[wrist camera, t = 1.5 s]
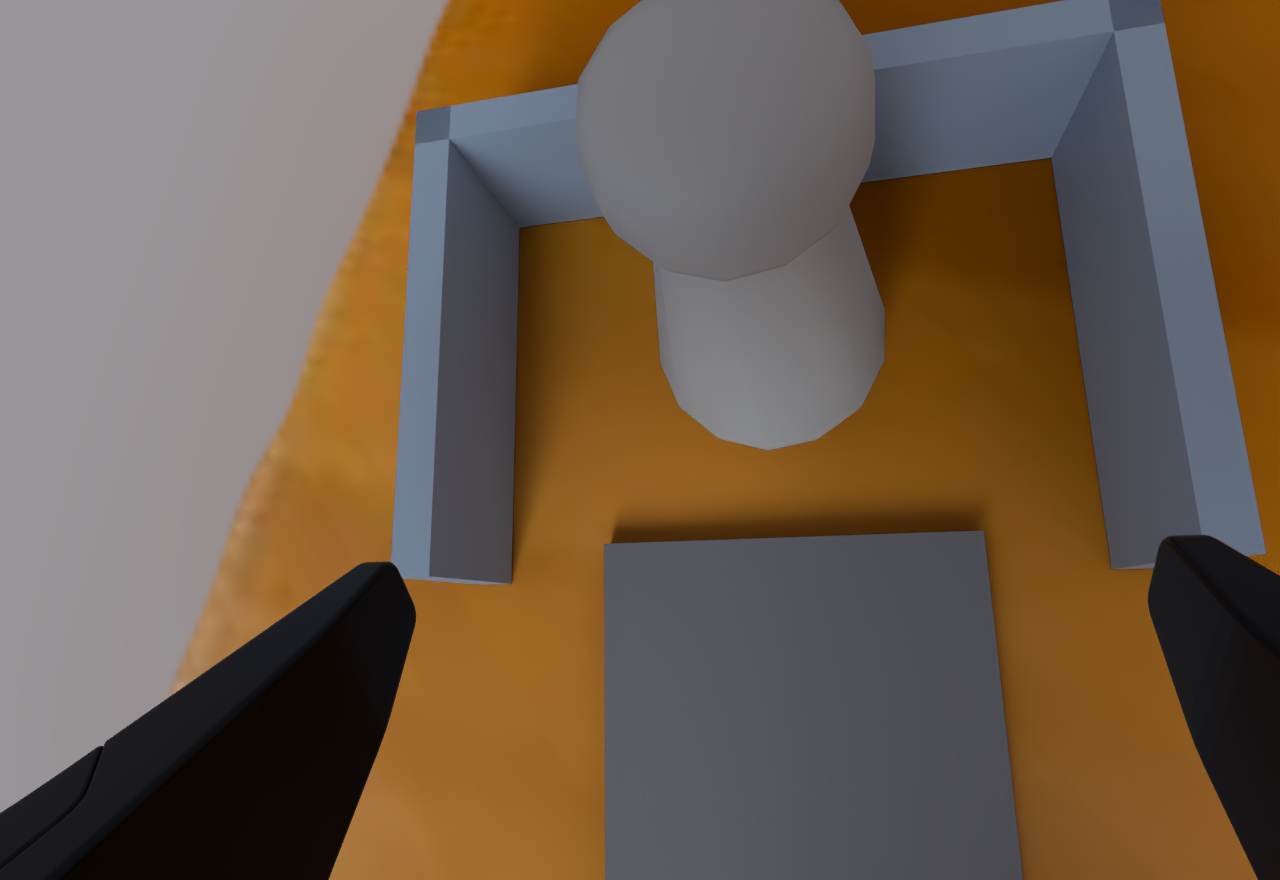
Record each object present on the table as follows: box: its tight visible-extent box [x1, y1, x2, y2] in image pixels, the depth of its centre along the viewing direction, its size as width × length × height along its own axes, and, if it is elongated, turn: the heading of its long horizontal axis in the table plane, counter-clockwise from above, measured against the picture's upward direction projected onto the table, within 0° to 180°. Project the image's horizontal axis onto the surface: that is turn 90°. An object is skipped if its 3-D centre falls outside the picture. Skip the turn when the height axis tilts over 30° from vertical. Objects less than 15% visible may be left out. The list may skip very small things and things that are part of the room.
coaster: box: [604, 530, 1023, 880], centre depth 20 cm, size 10×10×1 cm
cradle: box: [391, 0, 1266, 585], centre depth 20 cm, size 12×18×5 cm
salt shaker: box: [574, 0, 885, 450], centre depth 16 cm, size 6×6×13 cm
